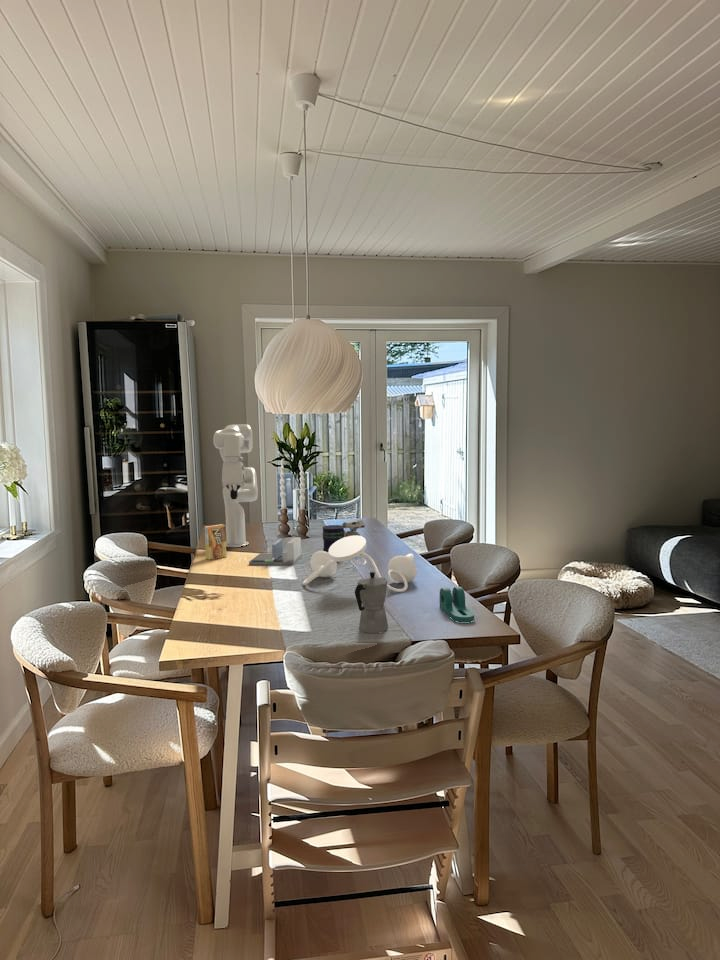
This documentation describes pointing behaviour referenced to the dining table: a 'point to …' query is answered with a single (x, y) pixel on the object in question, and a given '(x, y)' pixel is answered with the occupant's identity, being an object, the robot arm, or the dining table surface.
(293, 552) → the gauge housing
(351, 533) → the figurine
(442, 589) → the bracket
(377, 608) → the coffeepot
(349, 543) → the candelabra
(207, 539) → the candy box
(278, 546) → the pressure plate
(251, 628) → the dining table surface
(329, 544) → the storage jar
